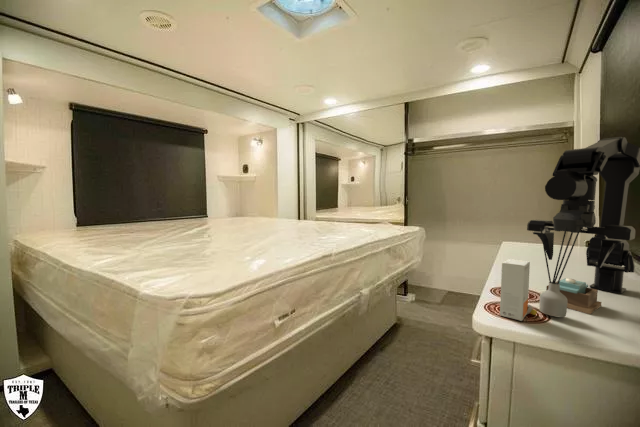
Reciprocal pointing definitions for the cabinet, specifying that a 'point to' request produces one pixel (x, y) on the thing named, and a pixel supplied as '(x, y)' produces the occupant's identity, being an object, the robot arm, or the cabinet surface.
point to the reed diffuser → (554, 287)
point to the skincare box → (514, 289)
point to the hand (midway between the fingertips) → (573, 263)
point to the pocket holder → (582, 300)
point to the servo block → (573, 286)
